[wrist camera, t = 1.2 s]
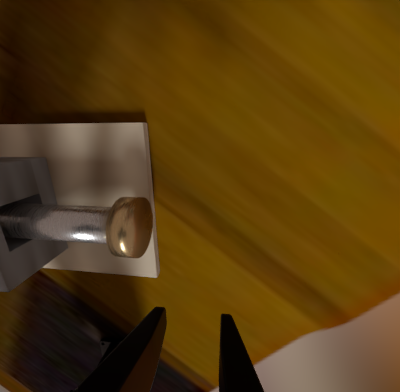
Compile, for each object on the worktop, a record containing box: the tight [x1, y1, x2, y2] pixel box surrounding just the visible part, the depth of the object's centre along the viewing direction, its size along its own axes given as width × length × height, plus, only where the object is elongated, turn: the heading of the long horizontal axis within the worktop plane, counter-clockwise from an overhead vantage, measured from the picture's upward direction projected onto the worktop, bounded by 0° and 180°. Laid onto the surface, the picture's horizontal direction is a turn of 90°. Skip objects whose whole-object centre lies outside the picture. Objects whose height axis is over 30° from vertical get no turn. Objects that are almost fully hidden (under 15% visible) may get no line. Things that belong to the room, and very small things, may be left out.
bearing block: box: [0, 123, 160, 292], centre depth 18 cm, size 22×16×7 cm
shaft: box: [0, 197, 153, 258], centre depth 17 cm, size 13×5×5 cm, turn 91°
